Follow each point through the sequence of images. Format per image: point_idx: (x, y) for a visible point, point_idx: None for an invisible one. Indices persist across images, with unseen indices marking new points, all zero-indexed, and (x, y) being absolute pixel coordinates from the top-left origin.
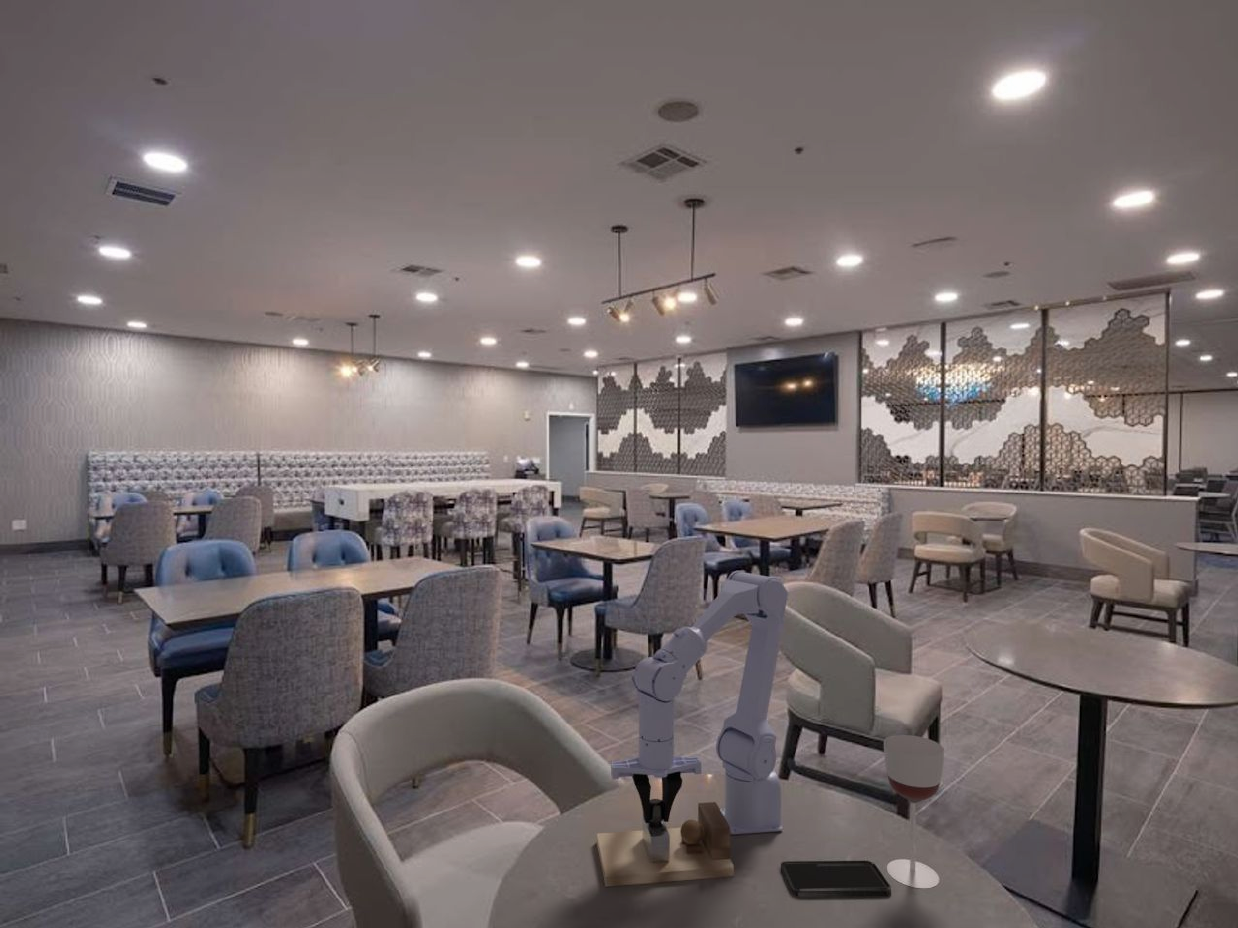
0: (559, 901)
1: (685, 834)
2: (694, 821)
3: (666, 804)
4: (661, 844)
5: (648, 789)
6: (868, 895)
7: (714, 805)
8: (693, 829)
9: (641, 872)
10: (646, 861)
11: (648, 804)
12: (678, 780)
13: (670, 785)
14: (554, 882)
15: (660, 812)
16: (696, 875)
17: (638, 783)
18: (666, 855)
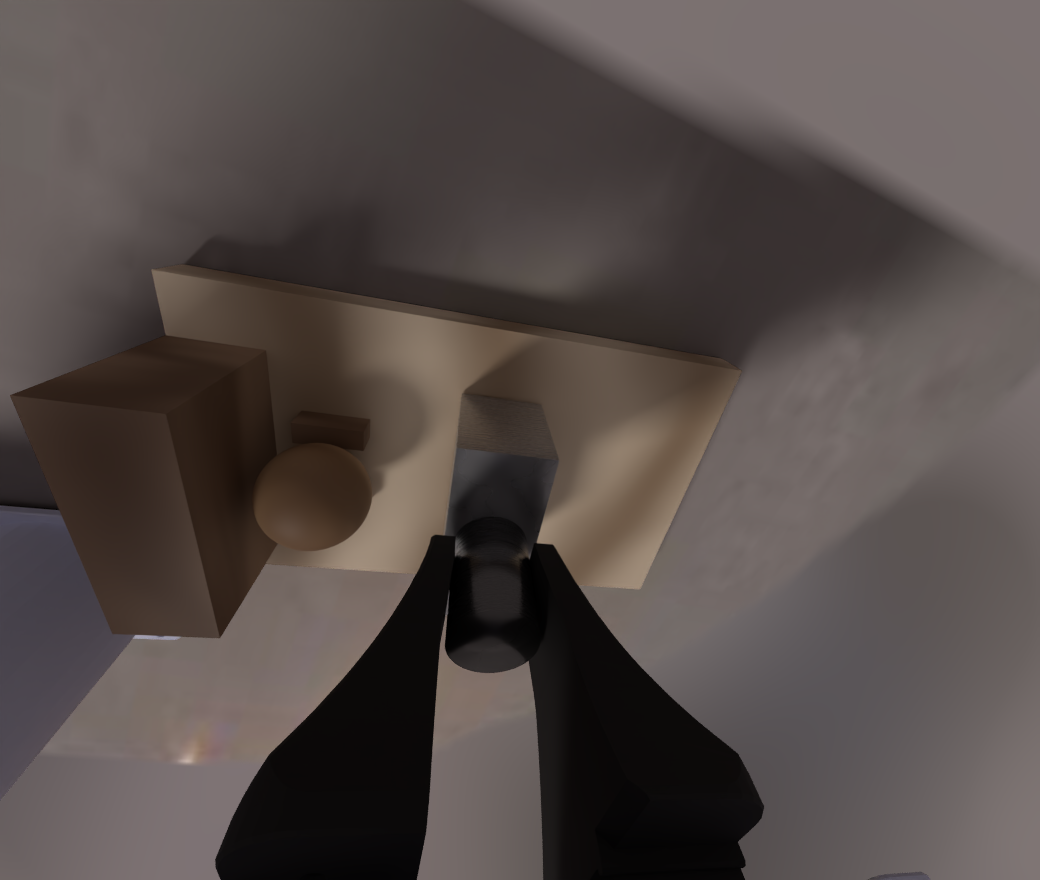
0: (897, 328)
1: (353, 476)
2: (279, 526)
3: (442, 611)
4: (499, 432)
5: (633, 744)
6: None
7: (122, 609)
8: (301, 482)
9: (602, 356)
10: (551, 418)
11: (572, 624)
12: (272, 851)
13: (402, 781)
14: (846, 426)
15: (479, 577)
16: (365, 300)
17: (726, 820)
18: (474, 405)
